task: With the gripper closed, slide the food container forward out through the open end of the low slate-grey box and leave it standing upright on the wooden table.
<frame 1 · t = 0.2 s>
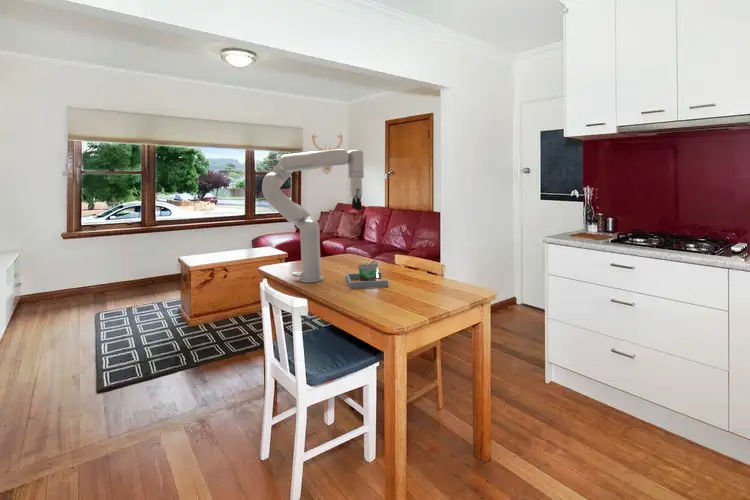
hand: (356, 209, 214), 36 cm above the table, tool pointing down, fingers open, 9 cm apart
low box: (366, 282, 209), on the table
food container: (370, 283, 210), resting in low box
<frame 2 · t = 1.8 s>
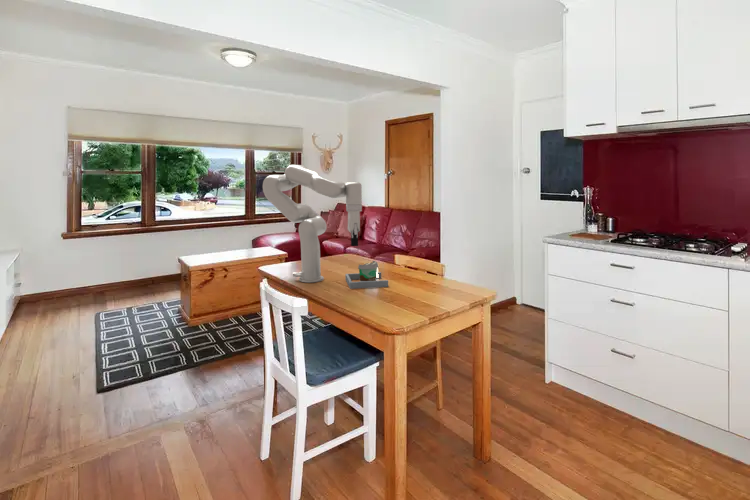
hand: (354, 245, 205), 19 cm above the table, tool pointing down, fingers closed
nothing on the table moved.
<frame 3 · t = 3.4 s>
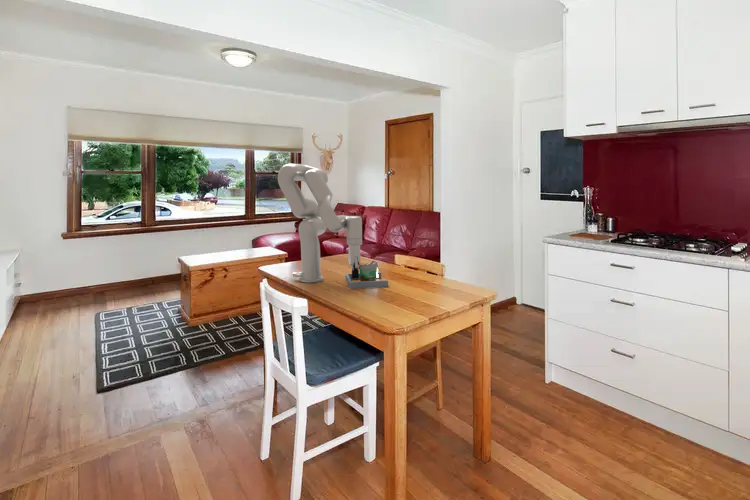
hand: (355, 278, 208), 3 cm above the table, tool pointing down, fingers closed
nothing on the table moved.
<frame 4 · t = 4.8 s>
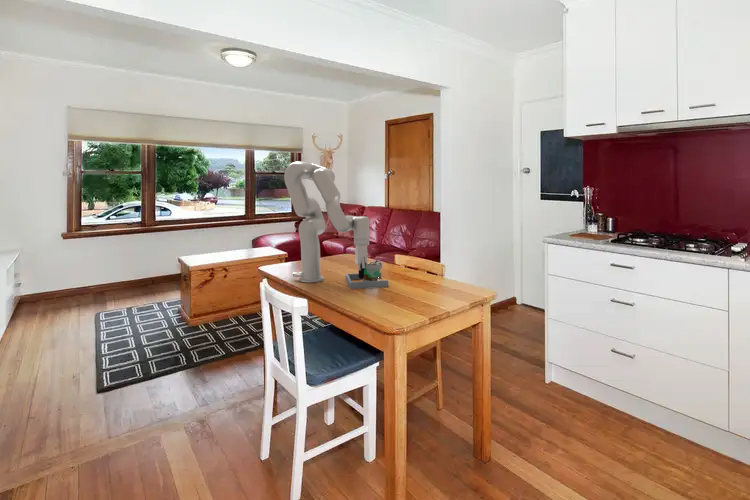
hand: (362, 278, 208), 3 cm above the table, tool pointing down, fingers closed
food container: (372, 282, 210), resting in low box, touching gripper
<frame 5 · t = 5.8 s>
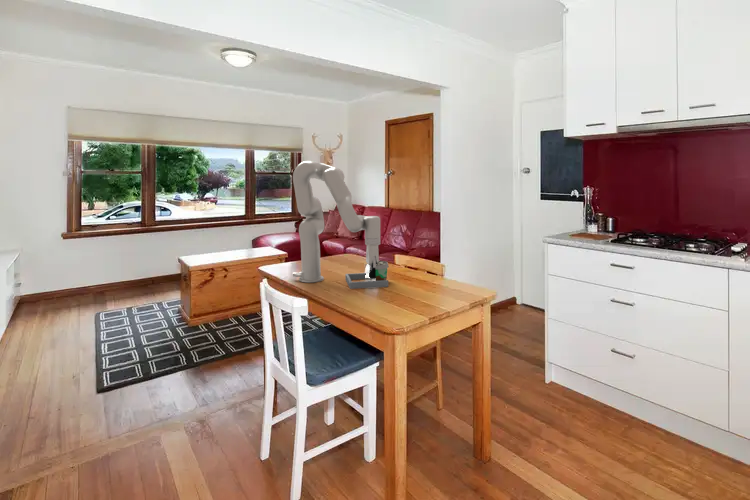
hand: (372, 277, 209), 3 cm above the table, tool pointing down, fingers closed
food container: (382, 282, 210), resting in low box, touching gripper
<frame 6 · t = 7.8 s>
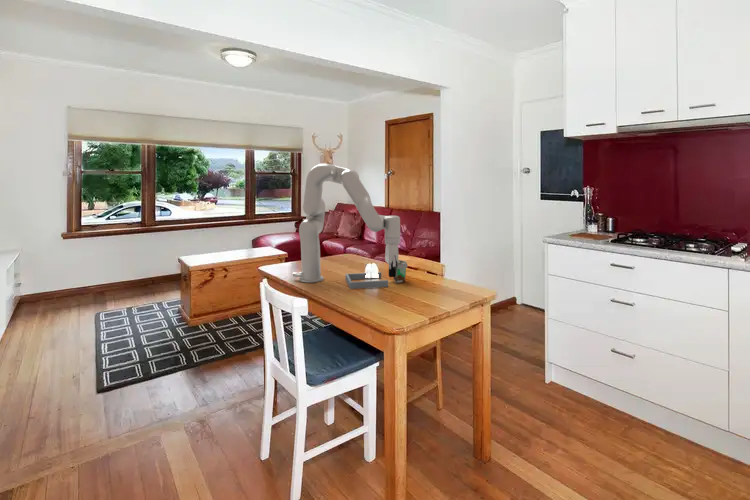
hand: (392, 276, 211), 3 cm above the table, tool pointing down, fingers closed
food container: (401, 281, 212), on the table, touching gripper
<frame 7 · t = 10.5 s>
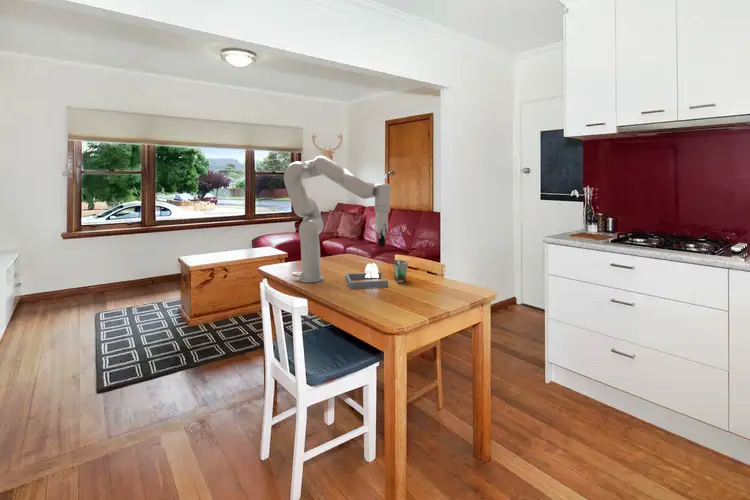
hand: (381, 246, 208), 18 cm above the table, tool pointing down, fingers closed
food container: (401, 281, 212), on the table
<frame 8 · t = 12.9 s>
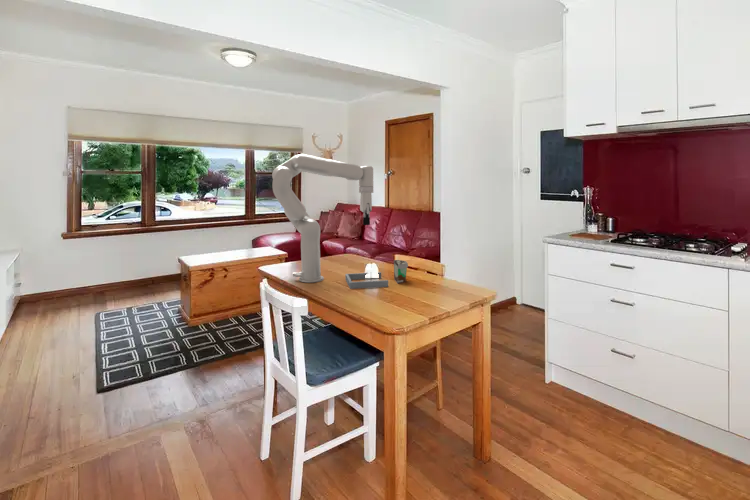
hand: (366, 224, 223), 27 cm above the table, tool pointing down, fingers closed
nothing on the table moved.
at the end: food container inside the target area (0.6 cm from its centre), on the table; food container tilted 0°; food container touching table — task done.
